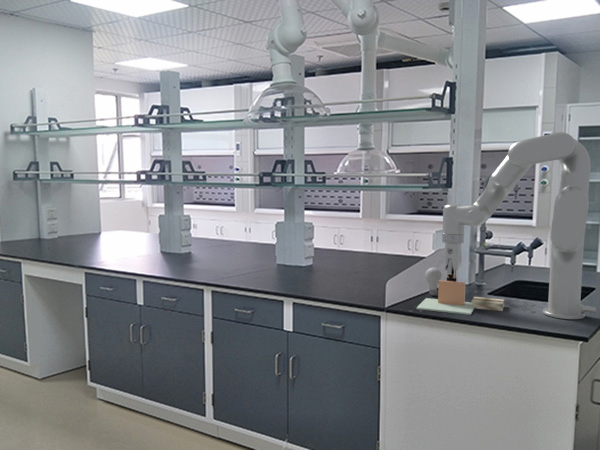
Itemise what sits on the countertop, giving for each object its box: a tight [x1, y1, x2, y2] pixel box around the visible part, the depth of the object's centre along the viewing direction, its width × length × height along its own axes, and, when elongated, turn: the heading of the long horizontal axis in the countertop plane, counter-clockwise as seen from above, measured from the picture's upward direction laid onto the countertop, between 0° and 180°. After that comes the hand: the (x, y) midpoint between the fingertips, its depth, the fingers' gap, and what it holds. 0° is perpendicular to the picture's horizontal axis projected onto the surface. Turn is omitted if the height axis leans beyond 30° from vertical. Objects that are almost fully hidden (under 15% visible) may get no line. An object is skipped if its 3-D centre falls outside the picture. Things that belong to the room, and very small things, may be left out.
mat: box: [416, 297, 476, 316], centre depth 189 cm, size 18×16×1 cm
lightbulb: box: [424, 267, 443, 297], centre depth 206 cm, size 6×6×11 cm
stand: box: [470, 296, 505, 312], centre depth 189 cm, size 10×7×2 cm
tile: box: [437, 279, 466, 306], centre depth 191 cm, size 8×2×9 cm
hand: (451, 288), depth 195 cm, fingers closed
